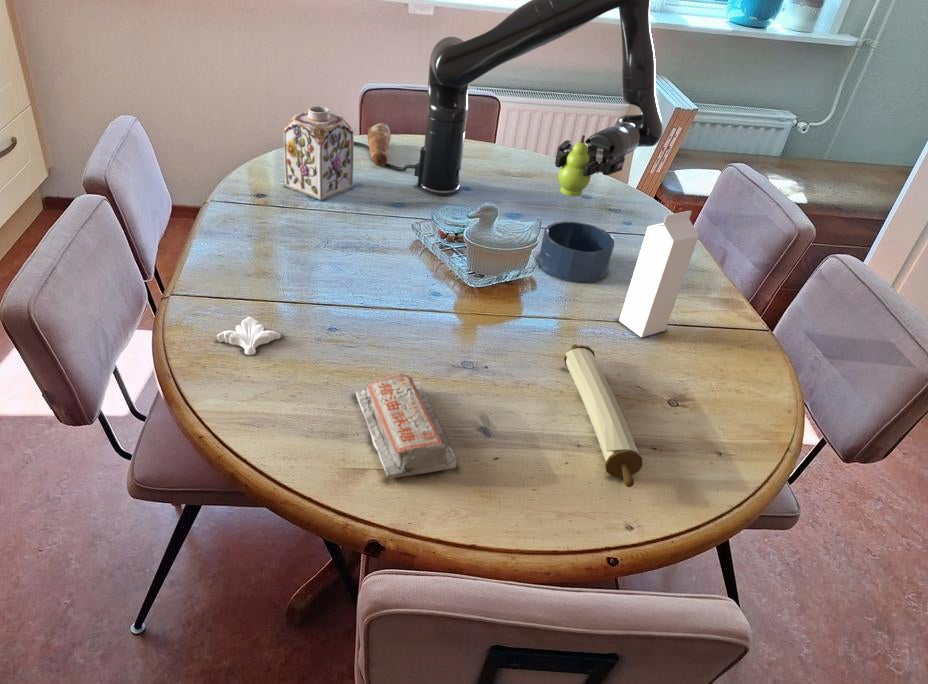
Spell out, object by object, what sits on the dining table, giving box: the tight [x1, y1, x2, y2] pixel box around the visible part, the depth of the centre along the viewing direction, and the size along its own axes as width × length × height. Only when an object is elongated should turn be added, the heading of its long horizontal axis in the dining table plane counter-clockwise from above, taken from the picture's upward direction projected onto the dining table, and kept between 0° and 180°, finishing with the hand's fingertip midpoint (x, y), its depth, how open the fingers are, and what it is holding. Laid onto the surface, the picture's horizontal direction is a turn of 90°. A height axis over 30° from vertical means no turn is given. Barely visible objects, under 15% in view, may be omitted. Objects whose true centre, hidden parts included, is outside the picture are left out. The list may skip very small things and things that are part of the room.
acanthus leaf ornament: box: [216, 316, 281, 356], centre depth 114 cm, size 8×7×2 cm
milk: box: [618, 210, 700, 338], centre depth 121 cm, size 6×6×22 cm
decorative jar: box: [283, 105, 355, 201], centre depth 160 cm, size 12×12×18 cm
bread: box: [366, 122, 392, 167], centre depth 183 cm, size 6×19×6 cm, turn 1°
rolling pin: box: [563, 344, 644, 488], centre depth 104 cm, size 32×6×5 cm, turn 3°
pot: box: [538, 220, 616, 283], centre depth 142 cm, size 14×14×6 cm
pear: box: [558, 134, 592, 197], centre depth 141 cm, size 6×6×12 cm
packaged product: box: [355, 372, 458, 480], centre depth 98 cm, size 18×5×10 cm
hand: (571, 166), depth 139 cm, fingers closed on pear, 5 cm apart
